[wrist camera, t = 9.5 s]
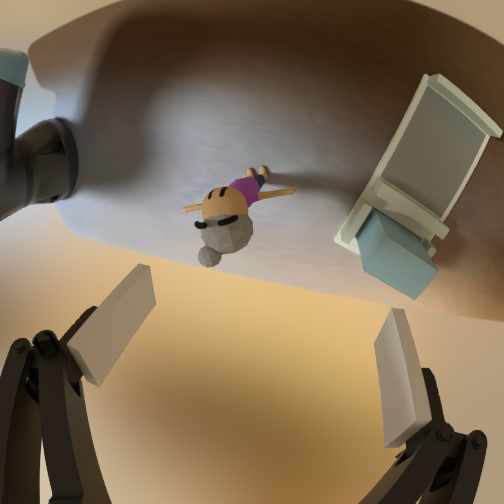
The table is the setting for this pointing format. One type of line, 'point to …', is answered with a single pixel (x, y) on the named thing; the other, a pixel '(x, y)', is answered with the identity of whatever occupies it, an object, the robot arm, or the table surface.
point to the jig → (424, 164)
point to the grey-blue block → (394, 255)
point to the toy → (230, 216)
